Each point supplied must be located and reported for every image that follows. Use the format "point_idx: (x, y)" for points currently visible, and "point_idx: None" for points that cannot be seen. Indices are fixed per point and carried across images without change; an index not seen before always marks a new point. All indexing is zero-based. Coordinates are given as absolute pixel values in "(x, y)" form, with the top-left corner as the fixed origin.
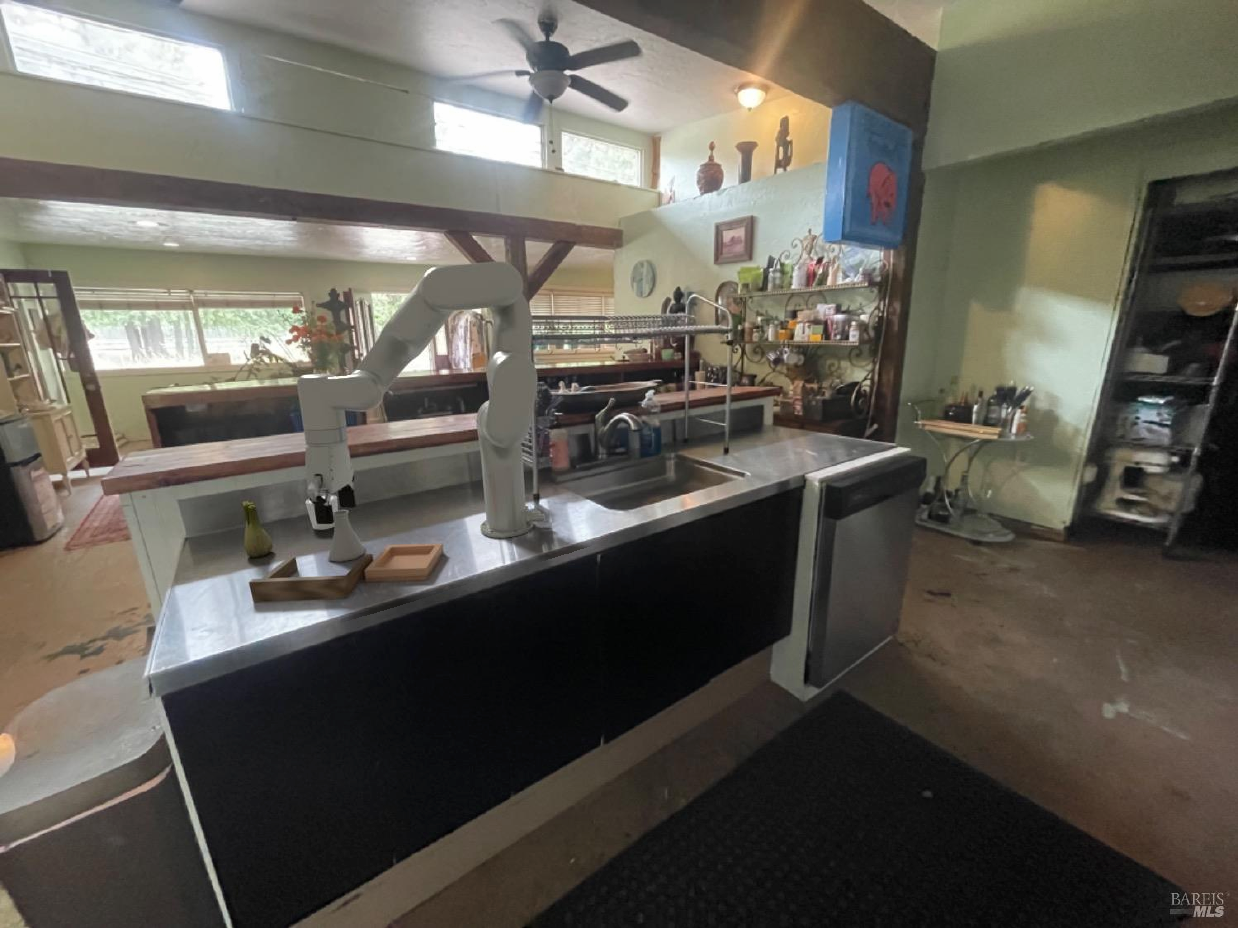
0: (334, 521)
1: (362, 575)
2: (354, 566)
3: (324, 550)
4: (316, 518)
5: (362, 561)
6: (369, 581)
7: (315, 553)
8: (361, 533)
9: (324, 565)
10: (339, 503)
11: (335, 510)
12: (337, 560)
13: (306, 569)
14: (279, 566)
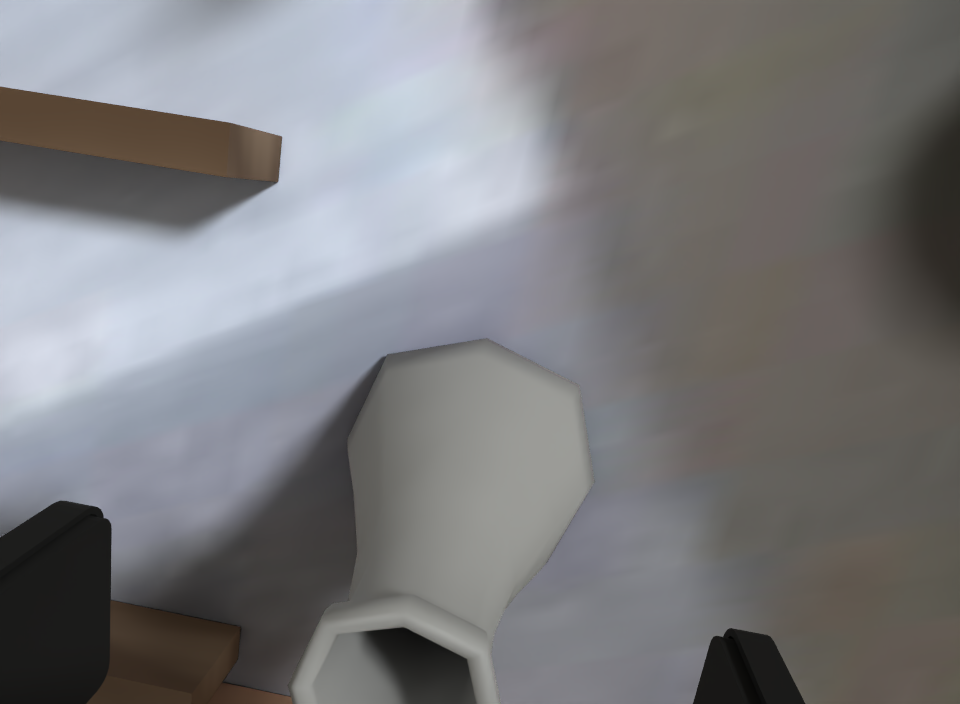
0: (365, 575)
1: None
2: None
3: (610, 260)
4: (5, 541)
5: None
6: None
7: (566, 206)
8: (911, 466)
9: (324, 346)
10: (745, 665)
11: None
12: (354, 427)
13: (281, 239)
14: (51, 119)
